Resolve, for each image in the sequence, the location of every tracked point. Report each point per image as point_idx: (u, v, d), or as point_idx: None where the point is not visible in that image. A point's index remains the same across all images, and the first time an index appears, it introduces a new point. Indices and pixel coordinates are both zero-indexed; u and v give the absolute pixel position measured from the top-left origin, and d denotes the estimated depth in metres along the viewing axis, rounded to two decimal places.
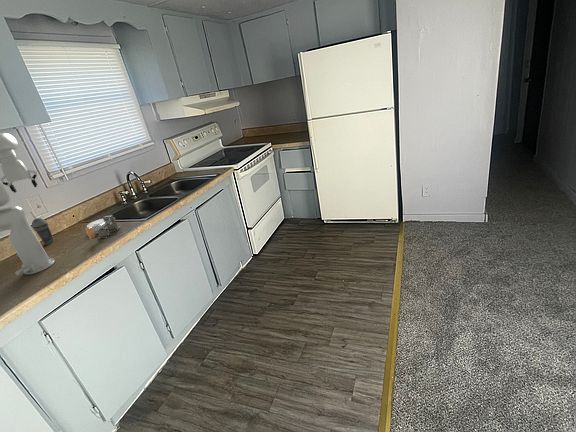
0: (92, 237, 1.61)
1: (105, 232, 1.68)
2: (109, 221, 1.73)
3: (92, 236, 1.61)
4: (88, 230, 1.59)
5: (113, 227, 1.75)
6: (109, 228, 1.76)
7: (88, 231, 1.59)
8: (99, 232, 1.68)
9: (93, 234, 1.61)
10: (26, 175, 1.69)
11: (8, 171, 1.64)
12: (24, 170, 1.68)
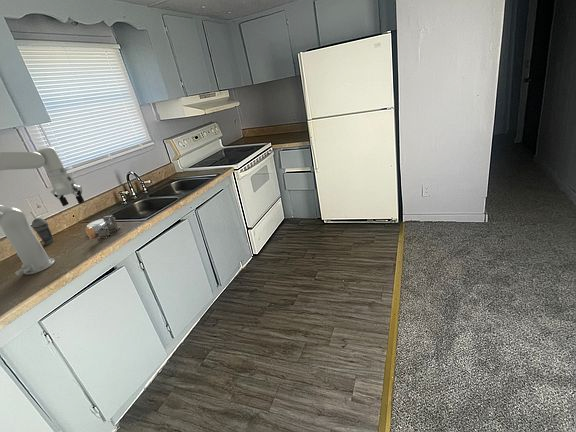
0: (92, 237, 1.61)
1: (105, 232, 1.68)
2: (109, 221, 1.73)
3: (92, 236, 1.61)
4: (88, 230, 1.59)
5: (113, 227, 1.75)
6: (109, 228, 1.76)
7: (88, 231, 1.59)
8: (99, 232, 1.68)
9: (93, 234, 1.61)
10: None
11: None
12: None
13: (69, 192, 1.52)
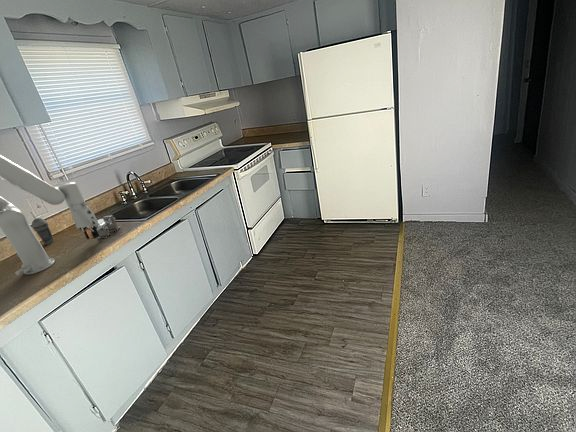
0: (92, 237, 1.61)
1: (105, 232, 1.68)
2: (109, 221, 1.73)
3: (92, 236, 1.61)
4: (88, 230, 1.59)
5: (113, 227, 1.75)
6: (109, 228, 1.76)
7: (88, 231, 1.59)
8: (99, 232, 1.68)
9: None
10: None
11: None
12: None
13: (88, 225, 1.57)
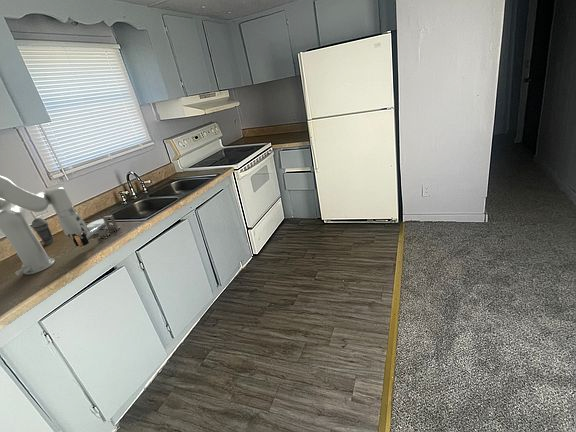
0: (81, 244, 1.54)
1: (105, 232, 1.68)
2: (100, 227, 1.66)
3: (81, 243, 1.54)
4: (77, 237, 1.52)
5: (113, 227, 1.75)
6: (109, 228, 1.76)
7: (77, 238, 1.53)
8: (99, 232, 1.68)
9: None
10: None
11: None
12: None
13: (77, 232, 1.50)
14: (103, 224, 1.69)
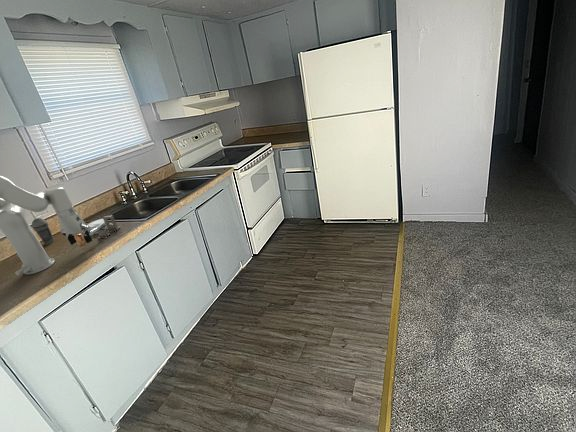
0: (81, 244, 1.54)
1: (105, 232, 1.68)
2: (100, 227, 1.66)
3: (81, 243, 1.54)
4: (77, 237, 1.52)
5: (113, 227, 1.75)
6: (109, 228, 1.76)
7: (77, 238, 1.53)
8: (99, 232, 1.68)
9: (82, 241, 1.54)
10: None
11: None
12: None
13: (77, 232, 1.50)
14: (103, 224, 1.69)
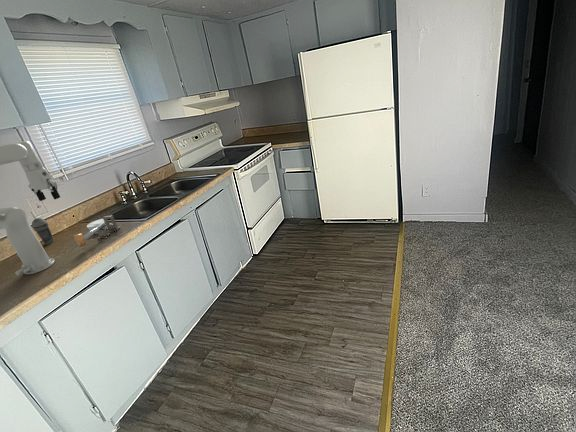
0: (81, 244, 1.54)
1: (105, 232, 1.68)
2: (100, 227, 1.66)
3: (81, 243, 1.54)
4: (77, 237, 1.52)
5: (113, 227, 1.75)
6: (109, 228, 1.76)
7: (77, 238, 1.53)
8: (99, 232, 1.68)
9: (82, 241, 1.54)
10: None
11: None
12: None
13: (44, 187, 1.50)
14: (103, 224, 1.69)
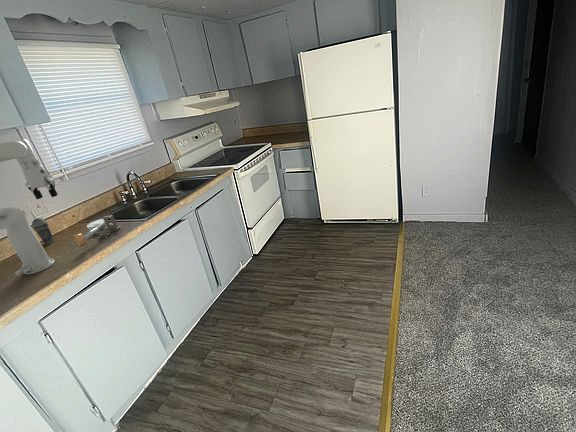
0: (81, 244, 1.54)
1: (105, 232, 1.68)
2: (100, 227, 1.66)
3: (81, 243, 1.54)
4: (77, 237, 1.52)
5: (113, 227, 1.75)
6: (109, 228, 1.76)
7: (77, 238, 1.53)
8: (99, 232, 1.68)
9: (82, 241, 1.54)
10: None
11: None
12: None
13: (42, 185, 1.51)
14: (103, 224, 1.69)
